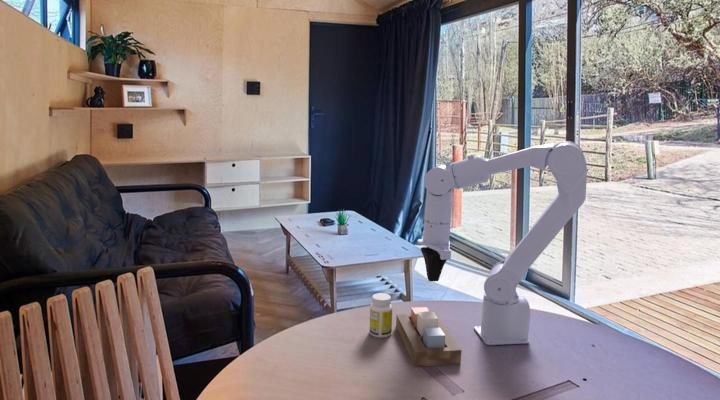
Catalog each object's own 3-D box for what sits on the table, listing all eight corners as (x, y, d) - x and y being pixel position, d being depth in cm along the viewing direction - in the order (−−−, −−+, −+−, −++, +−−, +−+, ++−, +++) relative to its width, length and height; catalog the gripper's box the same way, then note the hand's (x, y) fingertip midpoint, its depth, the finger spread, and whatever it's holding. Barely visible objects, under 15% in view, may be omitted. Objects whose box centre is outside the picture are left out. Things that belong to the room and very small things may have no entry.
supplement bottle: (391, 329, 114) (393, 293, 113) (390, 338, 110) (392, 301, 108) (370, 327, 115) (371, 291, 113) (368, 337, 110) (369, 300, 108)
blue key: (439, 344, 104) (440, 327, 104) (444, 352, 101) (445, 335, 100) (422, 345, 104) (423, 328, 103) (427, 353, 101) (428, 336, 100)
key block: (435, 325, 117) (435, 312, 116) (460, 364, 100) (461, 350, 100) (395, 327, 115) (396, 314, 115) (415, 366, 99) (415, 352, 98)
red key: (425, 322, 114) (426, 307, 113) (429, 329, 111) (430, 313, 110) (410, 323, 114) (411, 307, 113) (414, 330, 110) (415, 314, 110)
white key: (432, 327, 109) (433, 311, 108) (437, 335, 106) (438, 318, 105) (416, 328, 109) (417, 312, 108) (420, 336, 105) (421, 319, 104)
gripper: (410, 213, 119) (407, 269, 122) (429, 230, 105) (424, 293, 108) (440, 213, 120) (436, 268, 123) (462, 229, 106) (457, 292, 109)
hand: (433, 280), depth 115 cm, fingers closed
